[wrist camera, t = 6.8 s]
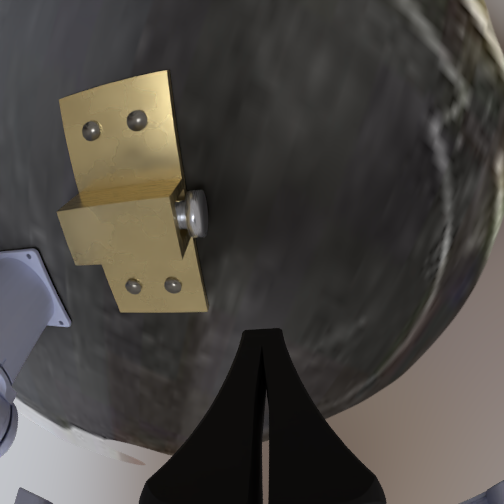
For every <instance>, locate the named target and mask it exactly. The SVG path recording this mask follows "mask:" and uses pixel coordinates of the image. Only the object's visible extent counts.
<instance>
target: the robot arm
mask: <svg viewBox="0 0 504 504" xmlns="http://www.w3.org/2000/svg"><path fill="white" fill-rule="evenodd" d="M29 254H30V255H29ZM46 325H49V326H61V327H69V326H70V325H71V320H70V318H69V316H68V315H67V313H66V311H65V309H64V307H63V305H62V303H61V301H60V299H59V297H58V295H57V293H56V290H55V288H54V286H53V284H52V282H51V280H50V277H49V275H48V273H47V271H46V268H45V266H44V264H43V261H42V259H41V257H40V254H39V252H38V251H37V250H36V249H34V248H32V249H22V250H12V251H2V252H0V457H1V456H2V455H4V454H5V453H6V452H7V451H8V449H9V448H10V446H11V445H12V443H13V441H14V439H15V436H16V432H17V425H18V413H17V409H16V406H15V404H14V403H13V401H14V399H15V397H16V395H17V392H16V391H15V390H14V389H13V388H12V384H13V382H14V381H15V379H16V377H17V375H18V373H19V371H20V369H21V368H22V366H23V364H24V362H25V361H26V359H27V357H28V355H29V354H30V352H31V350H32V348H33V347H34V345H35V343H36V342H37V340H38V338H39V337H40V335H41V333H42V332H43V330H44V329H45V327H46ZM266 390H267V398H268V405H269V503H268V504H386V498H385V495H384V492H383V489H382V487H381V485H380V483H379V481H378V479H377V477H376V476H375V475H374V474H373V473H372V472H371V471H370V470H369V469H368V468H367V467H366V466H365V465H364V464H363V463H362V462H361V461H360V460H359V459H358V458H357V457H356V456H355V455H354V454H353V453H352V452H351V451H350V450H349V449H348V448H347V447H346V446H345V444H344V443H343V442H342V441H341V439H340V438H339V437H338V436H337V435H336V433H335V432H334V431H333V430H332V429H331V427H330V426H329V425H328V423H327V422H326V420H325V419H324V418H323V416H322V415H321V413H320V412H319V410H318V409H317V407H316V406H315V404H314V403H313V401H312V399H311V398H310V396H309V394H308V392H307V391H306V389H305V387H304V385H303V384H302V382H301V380H300V378H299V376H298V374H297V371H296V369H295V367H294V365H293V363H292V361H291V358H290V356H289V353H288V350H287V348H286V345H285V341H284V337H283V333H282V330H281V329H280V328H273V329H256V330H245V331H244V332H243V333H242V337H241V341H240V345H239V348H238V351H237V353H236V356H235V359H234V361H233V363H232V366H231V368H230V370H229V373H228V375H227V377H226V379H225V381H224V383H223V385H222V387H221V389H220V391H219V393H218V395H217V396H216V398H215V400H214V402H213V403H212V405H211V407H210V408H209V410H208V411H207V413H206V414H205V416H204V417H203V419H202V420H201V422H200V423H199V425H198V426H197V427H196V429H195V430H194V431H193V433H192V434H191V435H190V437H189V438H188V439H187V440H186V442H185V443H184V444H183V445H182V446H181V447H180V448H179V449H178V451H177V452H176V453H175V454H174V455H173V456H172V457H171V458H170V459H169V460H168V462H166V463H165V464H164V465H163V466H162V467H161V468H160V469H159V470H158V471H157V472H156V473H155V474H154V475H152V477H150V478H149V479H148V480H147V481H146V483H145V485H144V488H143V491H142V493H141V496H140V500H139V504H263V491H262V435H263V423H264V411H265V398H266ZM15 504H53V503H51V502H49V501H48V500H46V499H44V498H42V497H40V496H38V495H35V494H33V493H31V492H29V491H27V490H25V489H23V488H19V490H18V493H17V497H16V500H15ZM459 504H504V480H503V481H501V482H499V483H498V484H496V485H494V486H493V487H491V488H490V489H488V490H487V491H486V492H484V493H482V494H479V495H477V496H475V497H473V498H471V499H469V500H467V501H464V502H462V503H459Z"/></svg>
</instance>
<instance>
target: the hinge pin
mask: <svg viewBox="0 0 504 504" xmlns="http://www.w3.org/2000/svg"><path fill="white" fill-rule="evenodd" d="M174 204H175V210H176V215H177V220H178V225H179V230H181V229H187V230H188V233H189V235H190V236H191V237H192V238H196V237H206V235H207V231H208V208H207V201H206V196H205V193H204V191H203V190H191V191H188V192H187V194H186V199H185V200H181V201H175V203H174Z"/></svg>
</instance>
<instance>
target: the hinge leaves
mask: <svg viewBox="0 0 504 504" xmlns="http://www.w3.org/2000/svg"><path fill="white" fill-rule="evenodd" d="M59 103H60V109H61V115H62V121H63V126H64V131H65V136H66V141H67V146H68V150H69V155H70V159H71V163H72V168H73V172H74V176H75V180H76V184H77V187H78V191H79V194H77V195H76V196H75V197H74V198H73V199H71V200H70V201H69V202H68V203H67V204H65V205H64V206H63V207H62V208H61V209H59V210H58V211H57V215H58V218H59V221H60V224H61V227H62V230H63V233H64V235H65V238H66V241H67V244H68V247H69V249H70V252H71V255H72V257H73V260H74V262H75V265H76V266H77V265H97V264H102V266H103V269H104V272H105V275H106V277H107V280H108V282H109V285H110V288H111V290H112V293H113V295H114V298H115V300H116V302H117V305H118V307H119V310H120V312H208V308H209V304H208V300H207V295H206V290H205V286H204V281H203V276H202V271H201V266H200V261H199V256H198V250H197V245H196V240H195V238H192V237H191V236H190V235H189V233H188V230H187V229H181V230H179V225H178V220H177V215H176V210H175V204H174V203H175V201H181V200H185V199H186V194H187V189H186V183H185V177H184V171H183V165H182V158H181V152H180V145H179V138H178V131H177V124H176V117H175V109H174V101H173V93H172V85H171V77H170V70H164V71H159V72H155V73H150V74H145V75H141V76H136V77H132V78H128V79H124V80H120V81H117V82H113V83H109V84H106V85H102V86H99V87H95V88H92V89H89V90H86V91H82V92H79V93H76V94H73V95H70V96H68V97H65V98H62V99H59Z"/></svg>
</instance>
